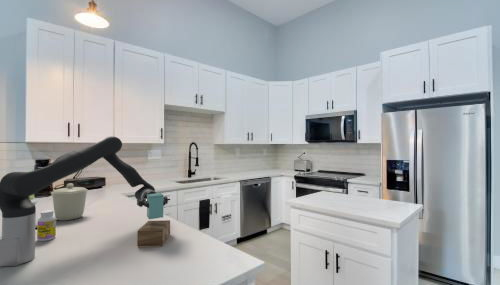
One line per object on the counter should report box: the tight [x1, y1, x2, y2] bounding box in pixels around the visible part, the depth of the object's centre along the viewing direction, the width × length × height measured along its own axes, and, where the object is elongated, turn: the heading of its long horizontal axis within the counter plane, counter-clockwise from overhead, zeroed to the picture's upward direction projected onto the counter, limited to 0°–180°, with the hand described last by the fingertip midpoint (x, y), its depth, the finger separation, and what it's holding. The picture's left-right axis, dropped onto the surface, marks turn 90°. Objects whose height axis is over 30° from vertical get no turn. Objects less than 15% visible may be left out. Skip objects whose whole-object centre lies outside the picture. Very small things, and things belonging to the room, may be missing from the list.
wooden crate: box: [136, 220, 171, 248], centre depth 112 cm, size 14×10×7 cm
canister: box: [50, 182, 89, 221], centre depth 149 cm, size 18×18×21 cm
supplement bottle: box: [36, 209, 57, 242], centre depth 115 cm, size 7×7×13 cm
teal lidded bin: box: [146, 192, 165, 220], centre depth 113 cm, size 6×6×10 cm
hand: (156, 204), depth 111 cm, fingers closed on teal lidded bin, 6 cm apart
